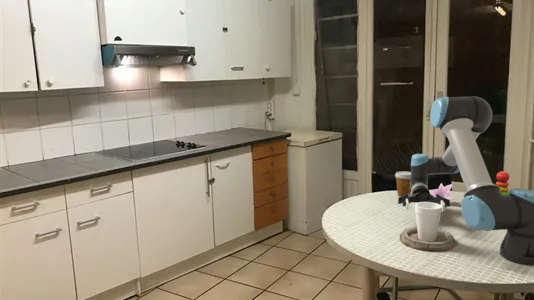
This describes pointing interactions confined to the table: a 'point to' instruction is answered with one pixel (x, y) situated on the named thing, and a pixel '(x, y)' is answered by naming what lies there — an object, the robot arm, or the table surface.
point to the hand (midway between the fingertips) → (425, 207)
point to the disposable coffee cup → (403, 182)
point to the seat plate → (440, 244)
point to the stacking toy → (503, 182)
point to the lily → (442, 191)
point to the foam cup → (428, 220)
